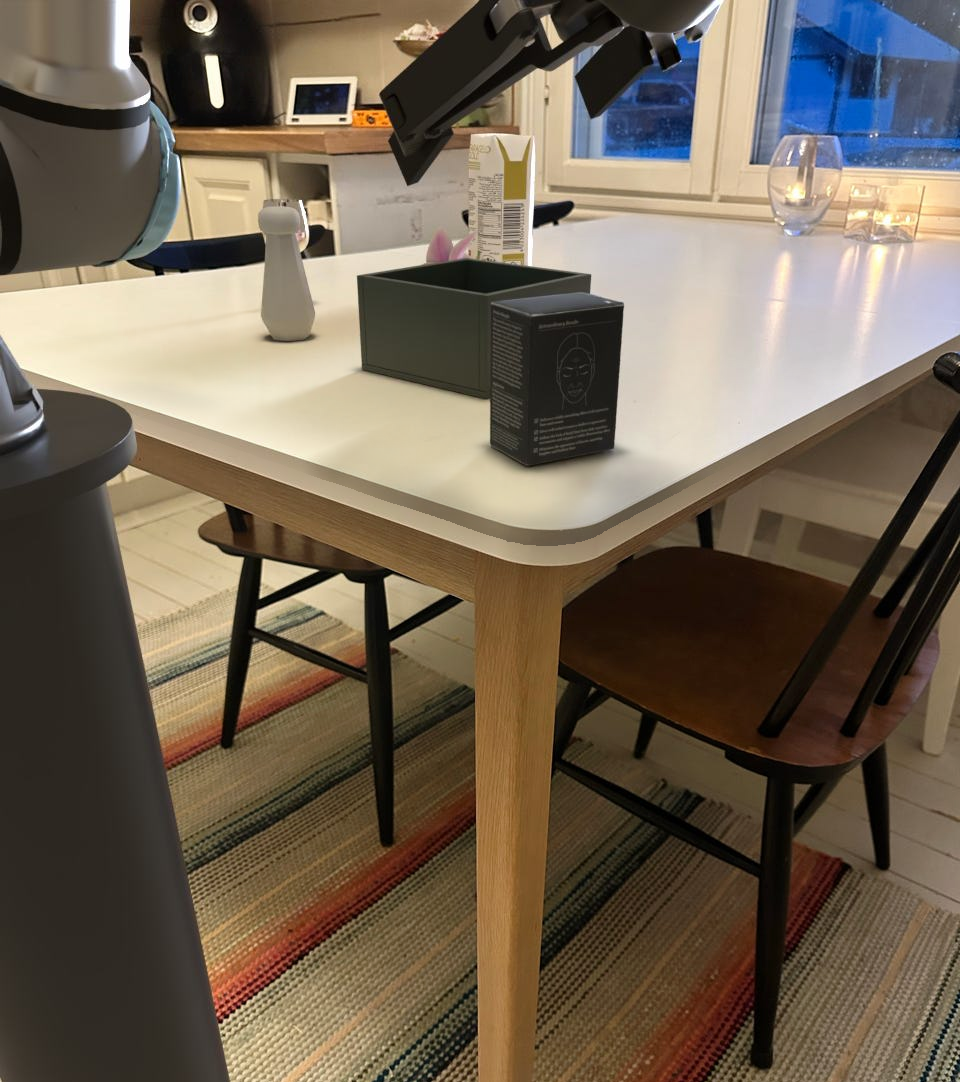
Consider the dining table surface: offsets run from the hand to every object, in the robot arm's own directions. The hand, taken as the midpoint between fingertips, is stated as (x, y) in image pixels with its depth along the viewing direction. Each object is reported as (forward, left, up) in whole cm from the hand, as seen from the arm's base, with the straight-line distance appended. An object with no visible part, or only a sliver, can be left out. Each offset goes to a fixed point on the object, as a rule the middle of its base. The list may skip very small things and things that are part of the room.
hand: (498, 128), depth 57 cm
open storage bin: (-18, +19, -21) cm, 34 cm away
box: (+2, +4, -21) cm, 22 cm away
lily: (-40, +39, -21) cm, 60 cm away
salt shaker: (-42, +16, -21) cm, 50 cm away
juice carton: (-46, +58, -21) cm, 77 cm away
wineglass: (-57, +29, -21) cm, 67 cm away
